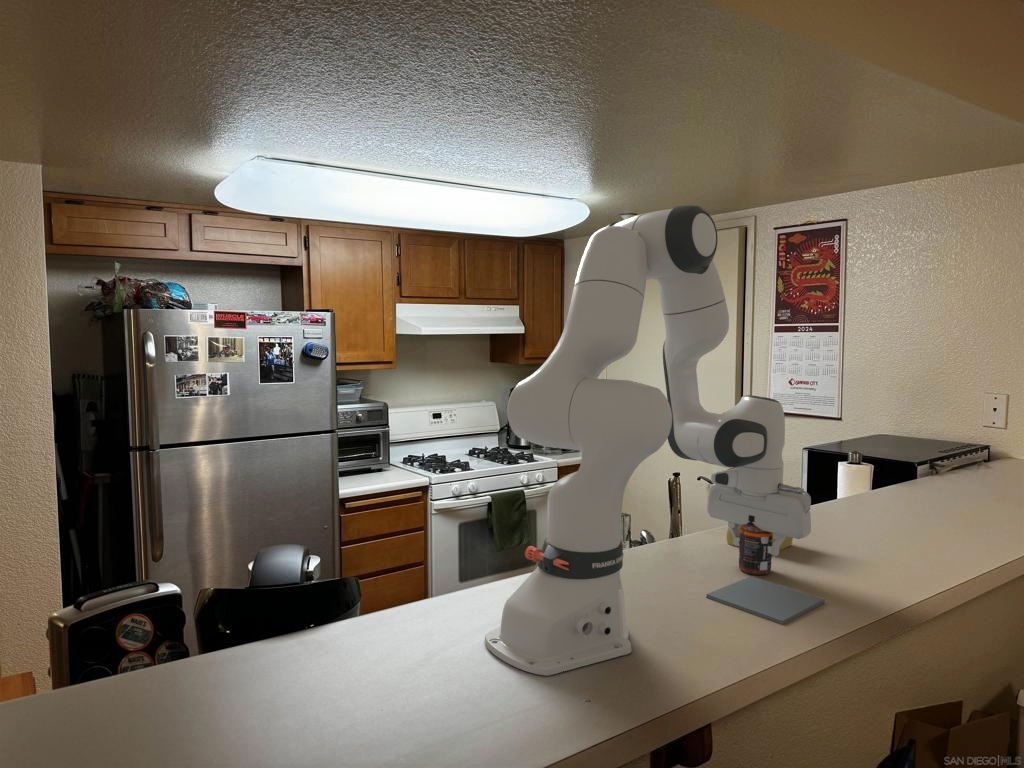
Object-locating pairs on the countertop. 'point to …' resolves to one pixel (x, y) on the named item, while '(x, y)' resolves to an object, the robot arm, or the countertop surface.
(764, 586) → the mat
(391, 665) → the countertop surface
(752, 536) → the supplement bottle
